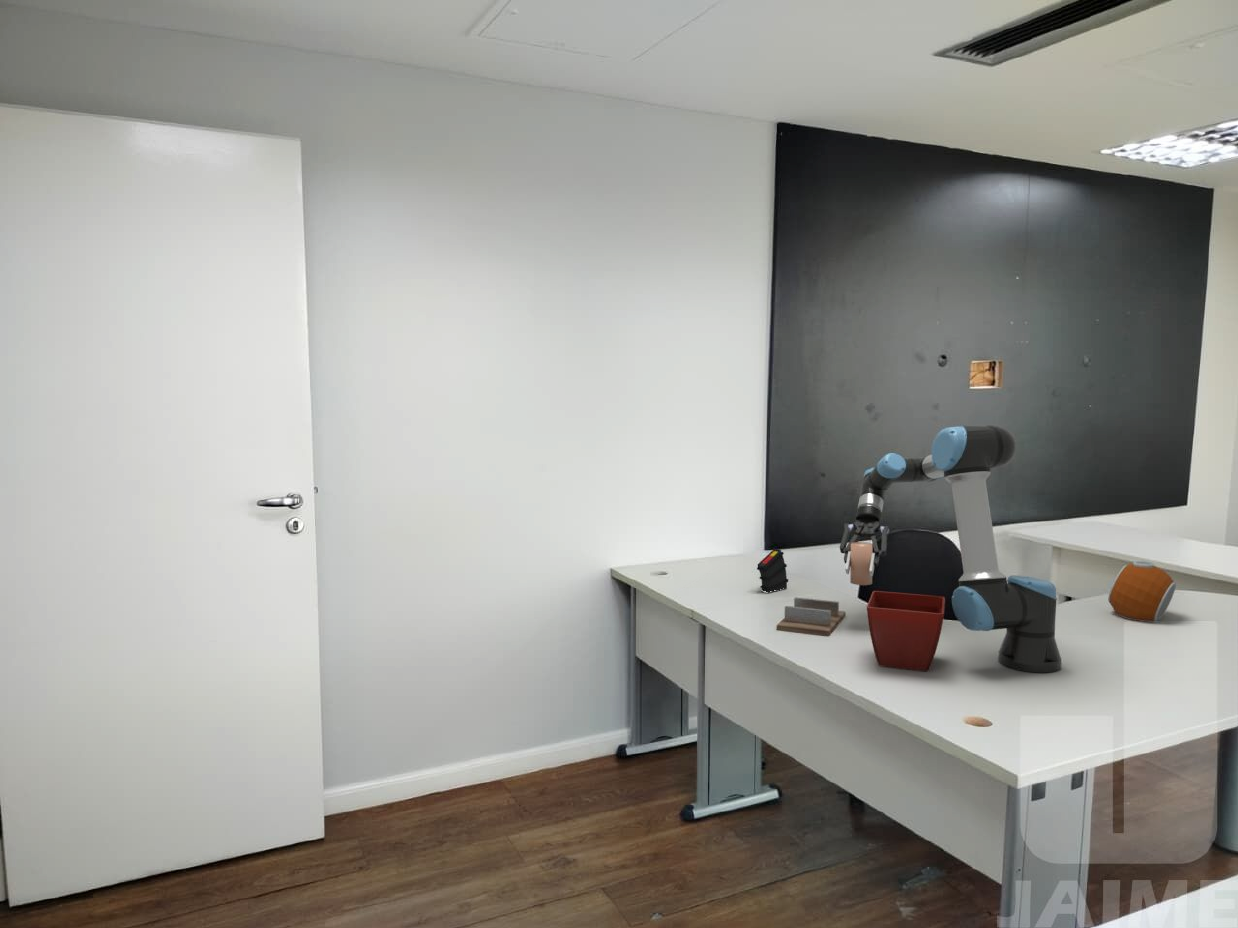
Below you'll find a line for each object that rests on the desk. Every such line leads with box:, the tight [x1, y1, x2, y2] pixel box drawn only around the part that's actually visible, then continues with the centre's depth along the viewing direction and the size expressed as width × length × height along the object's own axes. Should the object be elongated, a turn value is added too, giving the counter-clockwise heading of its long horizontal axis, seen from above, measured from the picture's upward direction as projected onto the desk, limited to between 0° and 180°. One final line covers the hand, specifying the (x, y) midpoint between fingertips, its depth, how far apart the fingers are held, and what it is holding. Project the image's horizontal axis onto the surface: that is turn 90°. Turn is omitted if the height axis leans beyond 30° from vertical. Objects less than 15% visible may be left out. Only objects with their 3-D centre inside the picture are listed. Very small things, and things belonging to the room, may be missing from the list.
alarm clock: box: [1107, 560, 1177, 622], centre depth 269 cm, size 19×18×17 cm
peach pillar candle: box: [849, 541, 874, 586], centre depth 259 cm, size 6×6×12 cm
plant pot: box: [866, 590, 946, 672], centre depth 228 cm, size 19×19×17 cm
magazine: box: [756, 548, 789, 592], centre depth 309 cm, size 4×13×15 cm, turn 130°
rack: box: [776, 597, 847, 637], centre depth 267 cm, size 24×16×6 cm, turn 154°
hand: (859, 572), depth 256 cm, fingers closed on peach pillar candle, 6 cm apart
